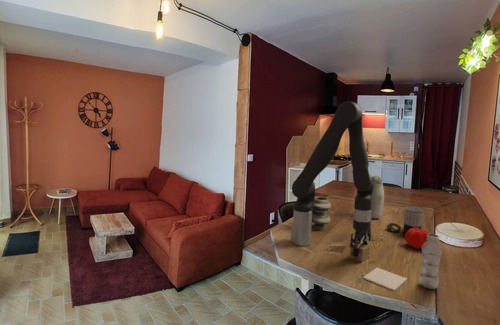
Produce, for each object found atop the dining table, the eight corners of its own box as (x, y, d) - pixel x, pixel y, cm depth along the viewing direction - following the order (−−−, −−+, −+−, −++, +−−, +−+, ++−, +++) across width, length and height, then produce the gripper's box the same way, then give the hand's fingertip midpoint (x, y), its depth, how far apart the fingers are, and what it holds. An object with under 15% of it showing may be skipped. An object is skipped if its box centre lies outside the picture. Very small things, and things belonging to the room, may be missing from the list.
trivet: (363, 278, 117) (363, 276, 117) (376, 268, 125) (376, 267, 125) (394, 291, 108) (394, 289, 108) (407, 280, 116) (407, 278, 116)
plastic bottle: (430, 281, 115) (435, 232, 112) (442, 291, 108) (448, 239, 106) (414, 281, 115) (418, 232, 112) (425, 291, 108) (430, 239, 106)
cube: (349, 257, 135) (350, 245, 134) (356, 254, 139) (356, 242, 138) (362, 262, 131) (363, 249, 130) (368, 258, 135) (369, 246, 134)
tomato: (435, 252, 142) (437, 234, 141) (408, 250, 145) (409, 232, 144) (426, 243, 153) (428, 227, 152) (401, 241, 155) (403, 225, 154)
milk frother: (424, 238, 160) (427, 211, 158) (395, 237, 161) (397, 211, 159) (411, 229, 174) (413, 204, 173) (384, 228, 175) (386, 204, 173)
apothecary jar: (307, 230, 170) (309, 199, 167) (309, 223, 181) (311, 194, 179) (329, 232, 166) (331, 201, 164) (330, 225, 178) (332, 196, 175)
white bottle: (362, 216, 197) (365, 175, 193) (373, 215, 201) (376, 174, 198) (374, 221, 188) (377, 177, 184) (385, 219, 192) (388, 176, 189)
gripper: (361, 213, 140) (360, 246, 142) (346, 220, 130) (344, 255, 132) (377, 217, 134) (375, 251, 136) (362, 224, 125) (360, 260, 127)
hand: (360, 253), depth 134 cm, fingers open, 8 cm apart
